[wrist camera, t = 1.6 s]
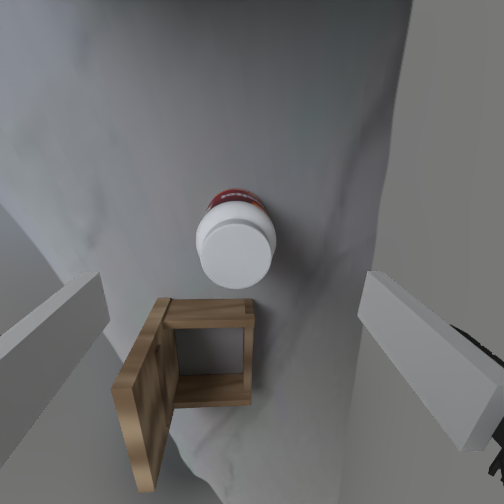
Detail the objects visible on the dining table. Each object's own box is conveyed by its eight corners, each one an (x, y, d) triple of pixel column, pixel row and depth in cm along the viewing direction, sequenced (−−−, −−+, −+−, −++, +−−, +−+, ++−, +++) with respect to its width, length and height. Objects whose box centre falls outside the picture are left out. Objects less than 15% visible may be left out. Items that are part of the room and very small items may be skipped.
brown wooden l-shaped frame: (157, 298, 29) (110, 388, 18) (252, 296, 30) (263, 383, 19) (169, 382, 34) (138, 492, 23) (249, 379, 35) (256, 484, 24)
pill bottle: (274, 201, 26) (301, 234, 15) (251, 251, 28) (261, 310, 17) (218, 176, 24) (207, 195, 14) (198, 231, 26) (176, 283, 16)
